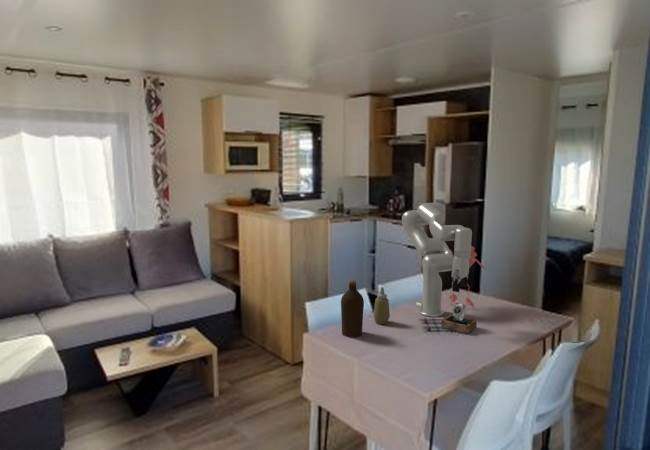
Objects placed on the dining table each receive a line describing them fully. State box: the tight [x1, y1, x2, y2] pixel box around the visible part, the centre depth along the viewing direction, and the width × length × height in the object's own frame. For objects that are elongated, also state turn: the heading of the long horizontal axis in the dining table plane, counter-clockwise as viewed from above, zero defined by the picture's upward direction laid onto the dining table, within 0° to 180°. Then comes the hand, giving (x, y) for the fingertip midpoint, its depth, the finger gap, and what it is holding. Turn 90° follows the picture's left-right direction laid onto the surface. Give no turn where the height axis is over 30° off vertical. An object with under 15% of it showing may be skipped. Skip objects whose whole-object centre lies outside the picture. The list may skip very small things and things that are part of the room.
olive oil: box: [340, 280, 365, 338], centre depth 208 cm, size 11×11×25 cm
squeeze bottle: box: [373, 286, 391, 325], centre depth 222 cm, size 8×8×18 cm
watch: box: [452, 303, 467, 325], centre depth 216 cm, size 6×8×11 cm
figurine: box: [449, 246, 486, 308], centre depth 250 cm, size 15×26×35 cm, turn 38°
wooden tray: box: [441, 314, 478, 336], centre depth 216 cm, size 13×11×4 cm
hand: (459, 289), depth 214 cm, fingers open, 9 cm apart
